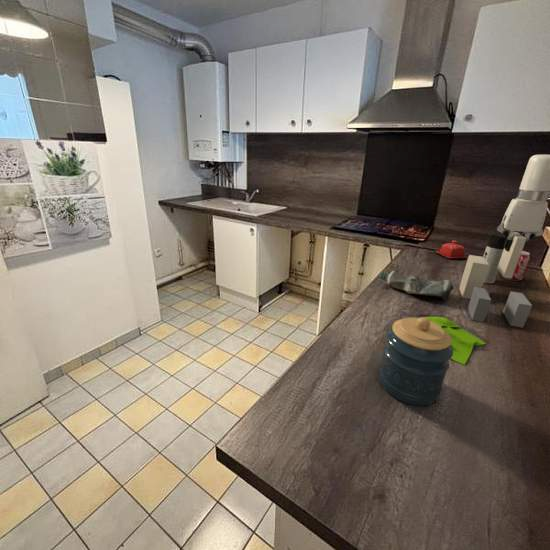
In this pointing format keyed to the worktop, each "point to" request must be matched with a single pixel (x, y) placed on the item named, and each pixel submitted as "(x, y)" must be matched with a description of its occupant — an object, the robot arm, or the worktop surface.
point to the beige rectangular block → (473, 275)
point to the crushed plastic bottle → (418, 285)
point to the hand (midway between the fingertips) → (512, 250)
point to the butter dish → (452, 250)
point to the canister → (415, 360)
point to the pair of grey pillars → (513, 310)
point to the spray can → (493, 256)
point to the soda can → (520, 266)
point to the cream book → (511, 256)
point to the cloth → (458, 339)
